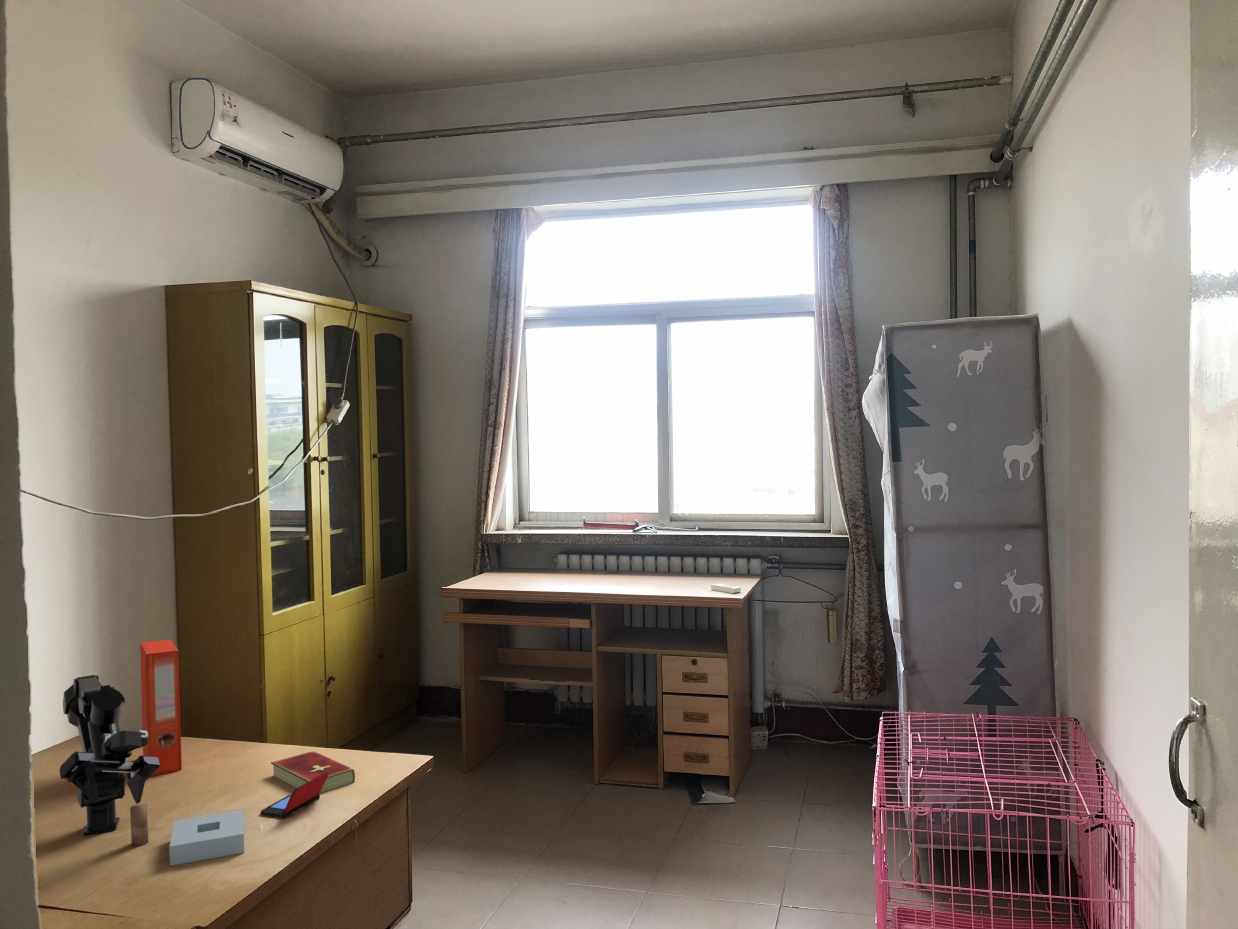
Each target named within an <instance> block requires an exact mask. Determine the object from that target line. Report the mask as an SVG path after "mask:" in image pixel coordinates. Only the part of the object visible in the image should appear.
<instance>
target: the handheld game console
mask: <svg viewBox="0 0 1238 929" xmlns="http://www.w3.org/2000/svg"><path fill="white" fill-rule="evenodd" d="M328 775H329V772H326V773H324V774H322V775H320V776H318V777H317V778H315V779H313V780H311V781H309V782H307V783H305V784H304V785H302V786H300V787H298V788H296V787H295V789H294V790H292V793H291V794H289V795H287V796H285V797H283V798H281V799H279V800H277V801H275V802H273V803H272V804H270V805H268V806H266V807H265V808H263V809H261V810H260V815H261V816H264V817H269V818H276V819H278V818H279V819H283V820H284V819H287V818H289V817H290V816H292V815H293V814H295V813H297V812H299V811H300V809H303V808H305V807H308V806H309V805H312V804H313V803H315V802H317V801H319V799H320V797H321V795H320V793H322V792H321V790H322V787H323V785H324V783H325V781H326V779H327V777H328Z"/></svg>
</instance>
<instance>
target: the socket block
mask: <svg viewBox="0 0 1238 929" xmlns="http://www.w3.org/2000/svg"><path fill="white" fill-rule="evenodd" d="M245 822H246V821H245V809H238V810H233V811H227V812H221V813H219V812H218V813H215V814H207V815H202V816H197V817H189V818H182V819H178V820H177V819H176V820H174V822H173V828H172V833H171V837H170V841H169V866H170V867H172V866H177V865H181V864H182V865H184V864H189V863H192V862H198V861H200V862H201V861H205V860H210V859H218V858H221V857H222V858H223V857H227V856H234V855H238V854H244V853H245V840H246V839H245V838H246V837H245V833H246V832H245V831H246V829H245V828H246V823H245Z"/></svg>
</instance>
